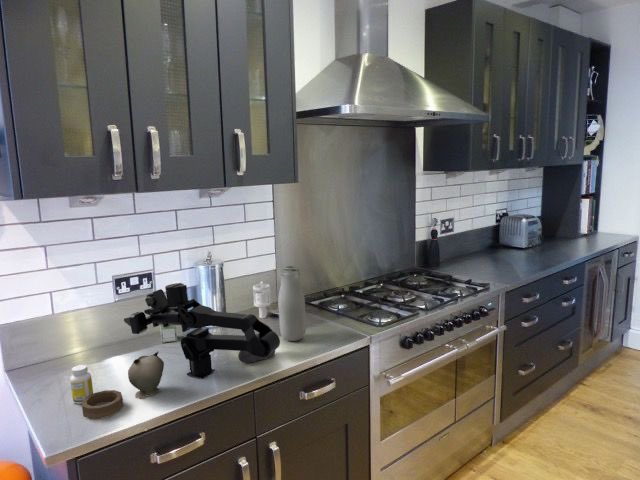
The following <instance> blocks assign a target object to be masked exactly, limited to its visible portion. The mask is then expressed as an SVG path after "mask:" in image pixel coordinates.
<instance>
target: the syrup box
mask: <svg viewBox="0 0 640 480" xmlns="http://www.w3.org/2000/svg"><path fill="white" fill-rule="evenodd" d="M159 327H160V338H161V343H162V344H163V343H171V342H178V334H177V325H169V326H167V327H163V325H159Z"/></svg>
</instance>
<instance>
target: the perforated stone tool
mask: <svg viewBox="0 0 640 480" xmlns="http://www.w3.org/2000/svg"><path fill="white" fill-rule="evenodd" d="M275 355H276V350H274V351H273V352H272V353H271V354H269V355H268V356H267V357H258V356H254V355H252V354H250V353H249V352H247V351H239V352H238V361H239V362H241V363H244V364H250V363H253V362H259V361H262V360H266V359H268V358H269V357H273V356H275Z"/></svg>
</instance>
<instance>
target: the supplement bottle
mask: <svg viewBox="0 0 640 480" xmlns="http://www.w3.org/2000/svg"><path fill="white" fill-rule="evenodd" d="M88 371H89V370H88V365H87V364H79V365H76V366H74V367H72V368H71V374H72V375H71V376H70V378H69V381H70V389H71V396H72V402H73V403H74V404H77V405H78V404H79V405H80V404H81V405H82V403H81V402H82V401H83V400H84V399H85V398H86V397H87V396H89V395H91V394H94V388H93V381H92V380H93V379H92V374H91V373H90V372H88Z"/></svg>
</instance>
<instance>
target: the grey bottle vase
mask: <svg viewBox="0 0 640 480" xmlns="http://www.w3.org/2000/svg"><path fill="white" fill-rule="evenodd" d="M279 274H280V276H279V277H280V286H279V290H278V291H279V293H278V295H277V296H278V297H277V305H278V317H279V320H278V321H279V330H280V335H281V337H282V339H284V340H286V341H288V342H297V341H299V340H301V339H303V338H304V336H305V335H306V327H307V326H306V325H307V324H306V300H305V294H304V291H303V288H302V284H301V280H300V277H301V273H300V268H299V267H296V266H293V265H288V266H284V267H282V268H281V270H280V273H279Z"/></svg>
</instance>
